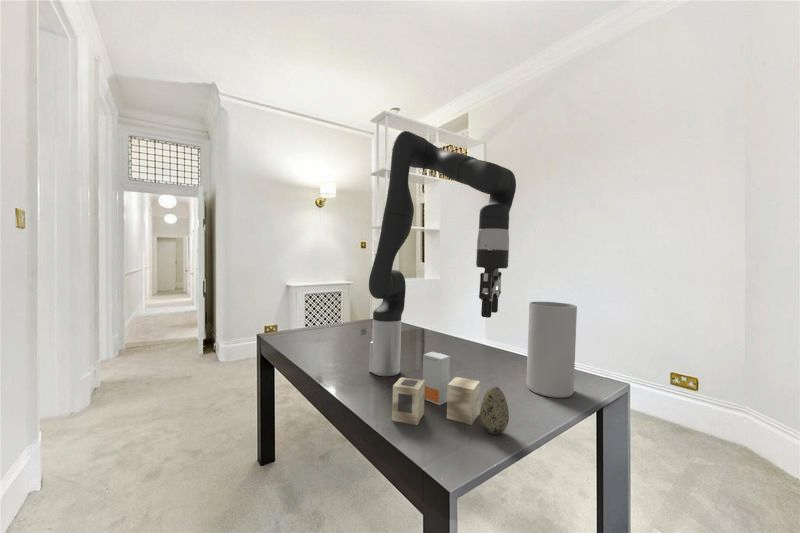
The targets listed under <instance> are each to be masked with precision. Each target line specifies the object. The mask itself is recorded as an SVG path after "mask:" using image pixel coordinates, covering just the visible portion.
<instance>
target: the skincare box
mask: <svg viewBox="0 0 800 533" xmlns="http://www.w3.org/2000/svg"><path fill="white" fill-rule="evenodd" d="M422 360H423V361H422V379H421V380H425V391H424V401H427V402H431V403H433V404H435V405H437V406H441V405H443V404H447V390H448V384H449V383H450V376H451V375H450V374H451V373H450V370H451V356H450V355H446V354H443V353H440V352H435V351H430V352H427V353H426V352H425V353H423V356H422Z"/></svg>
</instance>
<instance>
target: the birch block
mask: <svg viewBox="0 0 800 533" xmlns="http://www.w3.org/2000/svg"><path fill="white" fill-rule="evenodd" d="M480 383H481V381H479V380H475V379H470V378H466V377H465V378H464V377H460V376H459V377H458V376H455V377H454V378H453V379H452V380H451V381H449V384H448V390H447V402H446V419H447V420H448V419H449V420H451V421H455V422H459V423H464V424H467V425H471V426H472V425H473V424H474V422H476V421H475V420H476V419H477V418H478V416H480V389H481V388H480V386H481V384H480Z"/></svg>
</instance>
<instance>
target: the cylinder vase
mask: <svg viewBox="0 0 800 533" xmlns="http://www.w3.org/2000/svg"><path fill="white" fill-rule="evenodd" d="M577 313H578V305H576V304H571V303H566V302H565V303H563V302H556V301H530V302H529V305H528V331H527V332H528V333H527V334H528V335H527V358H526V360H527V361H526V386H527V388H528V389H529V390H530V391H531V392H533V393H535V394H537V395H540V396H543V397H548V398H554V399H557V398H558V399H564V398H565V399H566V398H569V397H571V396H573V395H574V393H575V392H574V391H575V367H576V366H575V365H576V363H575V362H576V343H577V342H576V341H577V340H576V339H577V315H578V314H577Z"/></svg>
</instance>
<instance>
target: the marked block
mask: <svg viewBox="0 0 800 533" xmlns="http://www.w3.org/2000/svg"><path fill="white" fill-rule="evenodd" d="M424 391H425V380H422V379H417V378H410V377H405V376H404V377H400V378H398V380H397V381H396V382H395V383H394V384H393V385H392V406H391V407H392V408H391V410H392V411H391V413H392V414H391V421H392V422H397V423H403V424H404V423H405V424H408V425H414V424H415V425H414V426H418V425H419V424H420V421H421V420H420V419H422V418H423V416H424V414H425V399H424ZM421 417H422V418H421Z"/></svg>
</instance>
